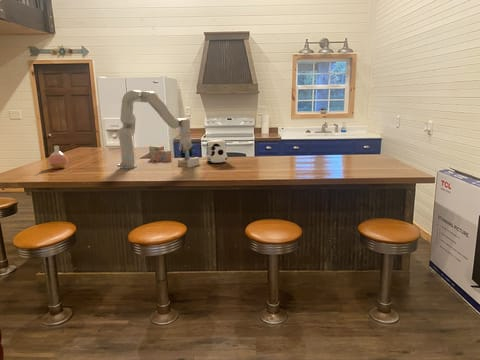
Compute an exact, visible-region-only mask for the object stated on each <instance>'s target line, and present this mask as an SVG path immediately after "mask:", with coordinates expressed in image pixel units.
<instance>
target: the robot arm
mask: <svg viewBox="0 0 480 360" xmlns="http://www.w3.org/2000/svg"><path fill="white" fill-rule="evenodd" d="M121 98H122V99H121V108H120V122H121V124H122V127H120V128H119V130H118V132H117V134H118V140H119V148H120V159H121V162H120V163H118V164H117V165H116V166H117V168H120V169H124V170H125V169H128V170H129V169H135V168H137V167H138V165H137V164H135V155H134V154H135V153H134V152H135V151H134V144H133V137H134V135H135V133H136V120H137V119H136V116H135V114H134V103H137V102H139V103H147V104H148V105H150V106H151V108H152V109H153V110H154V111H155V112H156V113H157V114H158V115H159V117H160V118H161V119H162V120H163V121H164V122H165V123H166V125H167V126H169V128H171V129H175V130H176V129H179V130H180V131H179V132H180V136H179V146H178V150H179V152H180V159H183V158H185V153H184V151H185V150H186V149H189V157H192V156H193V154H192V152H193V147H194V145H193V144H192V137H191V121H190V118H186V117H185V118H176V117H175V116H174V115H173V114H172V113H171V112H170V111H169V108H168V106H167V105H166V103H164V101H162V99H160V98H159V96H158V94H157V93H156V92H155V91H147V90H146V91H145V90H137V89H132V90H129V91H127V92H125V93H124V94H123V96H122V97H121Z"/></svg>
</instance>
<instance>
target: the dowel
mask: <svg viewBox="0 0 480 360" xmlns="http://www.w3.org/2000/svg"><path fill="white" fill-rule="evenodd" d="M184 153H185V158H184V160H188V159H189V158H190V156H189V149H186V150H185V151H184Z"/></svg>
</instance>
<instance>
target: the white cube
mask: <svg viewBox="0 0 480 360" xmlns="http://www.w3.org/2000/svg"><path fill="white" fill-rule="evenodd" d="M205 159H206V162H207V163H208V164H215V165H216V164H224V163H226V162H227V161H228V154H227V143H226V140H224V139H213V140H212V139H211V140H207V141H206V153H205Z"/></svg>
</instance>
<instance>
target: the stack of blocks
mask: <svg viewBox="0 0 480 360" xmlns="http://www.w3.org/2000/svg"><path fill="white" fill-rule="evenodd" d="M148 149H149V150H148V151H149V161H154V160H156V161H155V162H162V161H164V162H170V161H172V160H173V159H172V150H168V149H165V147H164V146H163V145H150V146H148ZM164 162H163V163H164Z"/></svg>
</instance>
